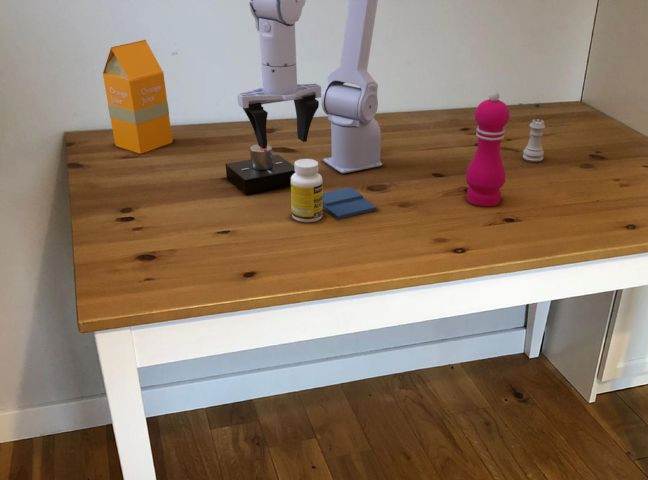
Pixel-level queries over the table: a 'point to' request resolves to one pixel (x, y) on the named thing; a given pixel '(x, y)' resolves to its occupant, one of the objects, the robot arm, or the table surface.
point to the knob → (261, 157)
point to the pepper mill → (488, 153)
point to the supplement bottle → (306, 191)
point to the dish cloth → (346, 203)
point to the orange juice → (137, 98)
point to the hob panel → (260, 175)
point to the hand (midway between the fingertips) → (282, 143)
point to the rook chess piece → (534, 143)
